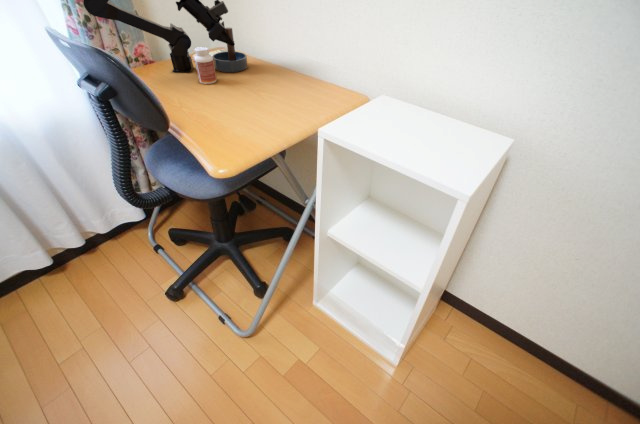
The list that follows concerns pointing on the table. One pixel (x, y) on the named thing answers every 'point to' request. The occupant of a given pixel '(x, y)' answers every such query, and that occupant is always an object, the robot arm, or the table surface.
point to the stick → (230, 48)
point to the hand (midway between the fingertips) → (233, 44)
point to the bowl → (229, 62)
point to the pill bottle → (204, 65)
